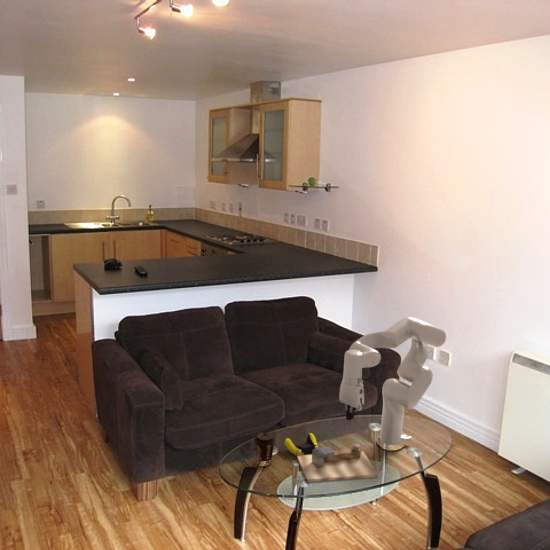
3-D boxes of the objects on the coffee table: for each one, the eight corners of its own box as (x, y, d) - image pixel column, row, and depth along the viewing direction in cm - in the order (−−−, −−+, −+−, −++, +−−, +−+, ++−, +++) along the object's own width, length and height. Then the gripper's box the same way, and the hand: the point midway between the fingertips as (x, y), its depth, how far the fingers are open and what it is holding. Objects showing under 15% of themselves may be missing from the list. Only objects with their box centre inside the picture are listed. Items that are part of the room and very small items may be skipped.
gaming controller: (282, 448, 270) (293, 460, 262) (283, 437, 269) (293, 448, 260) (311, 442, 277) (322, 453, 268) (312, 431, 275) (323, 441, 267)
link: (357, 452, 267) (358, 446, 266) (362, 457, 263) (362, 451, 262) (320, 457, 261) (320, 451, 260) (324, 463, 257) (324, 457, 256)
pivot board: (363, 453, 269) (364, 440, 267) (377, 476, 252) (378, 462, 250) (297, 458, 263) (297, 444, 261) (307, 482, 246) (308, 467, 244)
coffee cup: (262, 455, 264) (263, 428, 261) (277, 461, 260) (279, 434, 256) (249, 463, 257) (250, 436, 254) (265, 470, 253) (267, 442, 249)
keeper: (328, 458, 262) (329, 446, 260) (333, 464, 257) (334, 452, 256) (311, 462, 258) (312, 449, 257) (316, 468, 254) (317, 455, 252)
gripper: (372, 382, 250) (369, 422, 255) (343, 371, 260) (341, 409, 265) (361, 388, 245) (358, 428, 250) (332, 376, 255) (330, 415, 260)
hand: (349, 418), depth 257 cm, fingers closed
